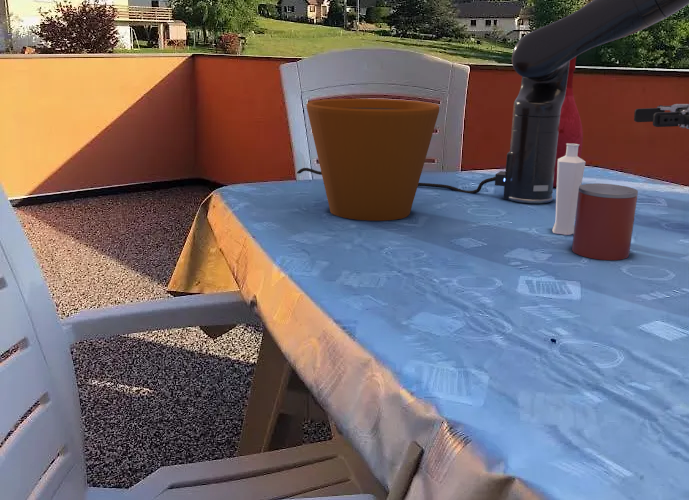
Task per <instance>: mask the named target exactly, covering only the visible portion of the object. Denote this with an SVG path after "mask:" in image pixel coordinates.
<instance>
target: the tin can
mask: <svg viewBox="0 0 689 500" xmlns="http://www.w3.org/2000/svg"><path fill="white" fill-rule="evenodd" d="M638 194H639V190H637V189H635V188H634V187H630V186H625V185H620V184H612V183H584V184H581V185H580V186H579V191H578V199H577V208H576V216H575V221H574V234H572V235H573V237H572V245H571V251H572V252H573V253H574V254H576V255H578V256H581V257H584V258H588V259H592V260H600V261H619V260H620V261H621V260H626V259H628V258H629V257H630V253H631V246H632V238H633V230H634V224H635V216H636V208H637V202H638Z"/></svg>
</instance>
